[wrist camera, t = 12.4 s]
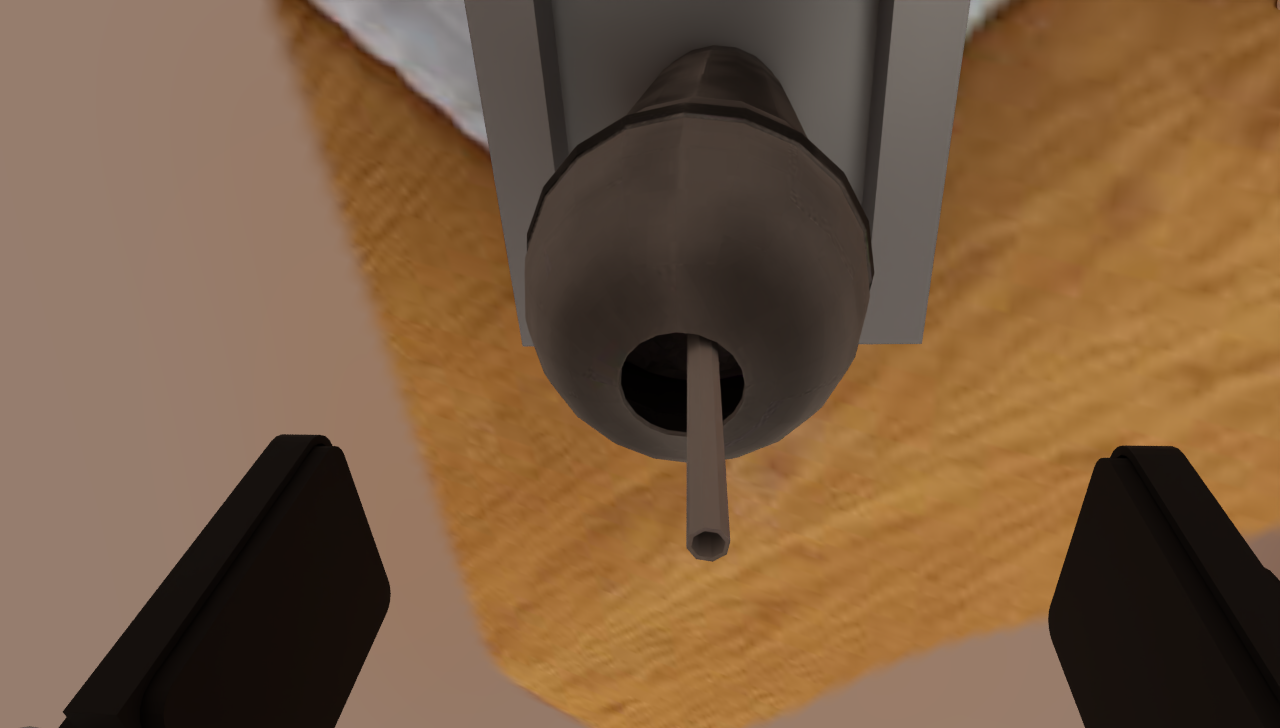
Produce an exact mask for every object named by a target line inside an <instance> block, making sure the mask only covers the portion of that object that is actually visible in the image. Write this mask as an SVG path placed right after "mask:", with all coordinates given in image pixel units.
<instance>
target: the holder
mask: <svg viewBox="0 0 1280 728" xmlns="http://www.w3.org/2000/svg"><path fill="white" fill-rule="evenodd" d="M464 2H465V8H466V14H467V20H468V26H469V32H470V38H471V43H472V49H473V55H474V61H475V67H476V73H477V79H478V85H479V91H480V97H481V103H482V109H483V114H484V120H485V126H486V132H487V138H488V144H489V150H490V156H491V162H492V168H493V174H494V179H495V185H496V191H497V197H498V203H499V209H500V215H501V221H502V227H503V233H504V239H505V245H506V250H507V256H508V262H509V268H510V274H511V280H512V286H513V292H514V298H515V304H516V310H517V316H518V321H519V327H520V333H521V339H522V345H523V346H534V344H533V341H532V339H531V336H530V333H529V330H528V326H527V323H526V319H525V273H524V272H525V256H526V254H527V232H528V229H529V226H530V223H531V220H532V217H533V215H534V212H535V209H536V206H537V203H538V200H539V197H540V194H541V191H542V188H543V186H544V185H545V184H546V182H547V181H548V180H549V179H550V178H551V176H552V175H553V174H554V173H555V171H556V170H557V169H558V168H559V166H560V165H561V164H562V163H563V162H564V160H565V159H566V158H567V157H568V155H569V154H570V153H571V152H572V150H573V149H574V148H575V147H576V146H577V145H578V144H579V143H581V142H583V141H584V140H586V139H588V138H589V137H591V136H593V135H594V134H596V133H597V132H599V131H601V130H602V129H604V128H606V127H607V126H609V125H611V124H612V123H614V122H616V121H617V120H619V119H620V118H622V117H624V116H625V115H627V113H628V112H629V111H630V110H631V108H632V107H633V106H634V105H635V103H636V102H637V101H638V100H639V99H640V97H641V96H642V95H643V94H644V92H645V91H646V90H647V89H648V88H649V86H650V85H651V84H652V83H653V82H654V80H655V79H656V78H657V77H658V76H659V74H660V73H661V72H662V71H663V70H664V69H665V68H667V67H668V66H670V64H671V63H672V62H674V61H675V60H677V59H678V58H680V57H682V56H683V55H685V54H686V53H688V52H690V51H691V50H695V49H700V48H704V47H708V46H712V45H717V46H728V47H736V48H739V49H741V50H743V51H745V52H747V53H750V54H752V55H754V56H756V57H757V58H758V59H759V60H760V61H762V62H763V63H764V64H765V65H766V66H767V67H768V68H769V69H770V70H771V71H772V72H773V74H774V76H775V77H776V78H777V79H778V80H779V81H780V83H781V85H782V87H783V89H784V91H785V93H786V95H787V97H788V99H789V101H790V102H791V105H792V107H793V109H794V111H795V113H796V115H797V117H798V119H799V121H800V123H801V125H802V127H803V129H804V132H805V134H806V136H807V138H808V139H809V140H810V141H811V142H812V143H813V144H814V145H815V146H817V147H818V148H819V149H820V150H821V151H822V152H823V153H824V154H825V155H826V156H827V157H828V158H829V159H830V160H832V161H833V162H834V163H835V164H836V165H837V166H838V167H839V168H840V169H841V170H842V171H843V172H844V173H845V175H846V177H847V179H848V181H849V183H850V185H851V187H852V189H853V191H854V193H855V195H856V197H857V198H858V200H859V202H860V204H861V206H862V208H863V210H864V212H865V214H866V216H867V218H868V220H869V226H870V235H871V244H872V253H873V263H874V272H875V273H874V277H873V281H872V284H871V288H870V299H869V303H868V308H867V312H866V316H865V320H864V324H863V328H862V332H861V335H860V339H859V343H858V344H922V339H923V332H924V325H925V317H926V310H927V303H928V296H929V289H930V282H931V275H932V268H933V261H934V254H935V247H936V240H937V233H938V226H939V218H940V211H941V204H942V197H943V190H944V183H945V176H946V169H947V162H948V155H949V148H950V141H951V134H952V127H953V119H954V112H955V105H956V98H957V91H958V84H959V77H960V70H961V63H962V56H963V49H964V42H965V35H966V28H967V20H968V13H969V6H970V0H464Z"/></svg>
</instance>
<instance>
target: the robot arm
mask: <svg viewBox="0 0 1280 728" xmlns="http://www.w3.org/2000/svg"><path fill="white" fill-rule="evenodd" d="M390 594H391V593H390V585H389V581H388V578H387V575H386V572H385V570H384V567H383V564H382V561H381V558H380V556H379V553H378V550H377V547H376V544H375V541H374V538H373V536H372V533H371V530H370V527H369V524H368V521H367V518H366V515H365V513H364V510H363V507H362V504H361V501H360V498H359V495H358V493H357V490H356V487H355V484H354V481H353V478H352V476H351V473H350V470H349V467H348V464H347V461H346V459H345V455H344V453H343V451H342V450H341V449H340V448H339V447H336V446H332V444H331V442H330V440H329V439H328V438H327V437H326V436H322V435H286V434H284V435H279V436H276V437H275V438H274V439H273V440H272V441H271V442H270V444H269V445H268V446H267V448H266V449H265V450H264V451H263V453H262V454H261V455H260V457H259V458H258V459H257V460H256V462H255V463H254V464H253V466H252V467H251V468H250V469H249V471H248V472H247V474H246V475H245V476H244V477H243V479H242V480H241V481H240V483H239V484H238V485H237V486H236V488H235V489H234V490H233V492H232V493H231V494H230V495H229V497H228V498H227V499H226V501H225V502H224V503H223V505H222V506H221V507H220V508H219V510H218V511H217V512H216V514H215V515H214V516H213V517H212V519H211V520H210V521H209V523H208V524H207V525H206V527H205V528H204V529H203V530H202V532H201V533H200V534H199V536H198V537H197V538H196V540H195V541H194V542H193V543H192V545H191V546H190V547H189V549H188V550H187V551H186V553H185V554H184V555H183V557H182V558H181V559H180V560H179V562H178V563H177V564H176V565H175V567H174V568H173V569H172V571H171V572H170V573H169V575H168V576H167V577H166V579H165V580H164V581H163V582H162V584H161V585H160V586H159V588H158V589H157V590H156V592H155V593H154V594H153V595H152V597H151V598H150V599H149V601H148V602H147V603H146V605H145V606H144V607H143V608H142V610H141V611H140V612H139V613H138V615H137V616H136V617H135V619H134V620H133V621H132V623H131V624H130V625H129V626H128V628H127V629H126V630H125V632H124V633H123V634H122V636H121V637H120V638H119V639H118V641H117V642H116V643H115V645H114V646H113V647H112V649H111V650H110V651H109V653H108V654H107V655H106V656H105V658H104V659H103V660H102V661H101V663H100V664H99V666H98V667H97V668H96V669H95V671H94V672H93V673H92V674H91V676H90V677H89V678H88V680H87V681H86V682H85V684H84V685H83V686H82V687H81V689H80V690H79V691H78V693H77V694H76V695H75V697H74V698H73V699H72V700H71V702H70V703H69V704H68V706H67V707H66V708H65V710H64V711H63V713H64V714H65V715H66V719H65V720H64V721H63V723H62V724H61V725H60V727H59V728H335V725H336V723H337V721H338V719H339V717H340V715H341V712H342V710H343V708H344V705H345V704H346V701H347V699H348V697H349V695H350V693H351V690H352V688H353V686H354V684H355V681H356V679H357V677H358V675H359V673H360V671H361V668H362V666H363V664H364V662H365V659H366V657H367V655H368V653H369V651H370V648H371V646H372V644H373V642H374V639H375V637H376V635H377V633H378V631H379V629H380V626H381V624H382V622H383V620H384V618H385V615H386V613H387V610H388V608H389V603H390ZM1048 622H1049V631H1050V636H1051V639H1052V642H1053V645H1054V647H1055V650H1056V653H1057V655H1058V658H1059V661H1060V663H1061V666H1062V668H1063V671H1064V674H1065V676H1066V679H1067V682H1068V684H1069V687H1070V689H1071V692H1072V694H1073V697H1074V700H1075V703H1076V705H1077V708H1078V710H1079V713H1080V715H1081V718H1082V721H1083V723H1084V726H1085V728H1280V581H1279V580H1278V578H1277V577H1276V576H1275V575H1274V574H1273V573H1272V572H1271V571H1270V570H1268V569H1266V568H1264V567H1263V565H1262V564H1261V563H1260V561H1259V560H1258V558H1257V557H1256V555H1255V554H1254V553H1253V551H1252V550H1251V548H1250V547H1249V545H1248V544H1247V543H1246V541H1245V540H1244V538H1243V537H1242V536H1241V534H1240V533H1239V531H1238V530H1237V528H1236V527H1235V526H1234V524H1233V523H1232V521H1231V520H1230V519H1229V517H1228V516H1227V514H1226V513H1225V512H1224V510H1223V509H1222V507H1221V506H1220V504H1219V503H1218V502H1217V500H1216V499H1215V497H1214V496H1213V495H1212V493H1211V492H1210V490H1209V489H1208V488H1207V486H1206V485H1205V483H1204V482H1203V480H1202V479H1201V478H1200V476H1199V475H1198V473H1197V472H1196V471H1195V469H1194V468H1193V466H1192V465H1191V464H1190V462H1189V461H1188V459H1187V458H1186V456H1185V455H1184V454H1183V453H1182V452H1181V451H1180V450H1179V449H1178V448H1175V447H1173V446H1119V447H1117V448H1116V449H1115V450H1114V451H1113V453H1112V455H1111V457H1110V458H1100V459H1099V460H1098V461H1097V463H1096V465H1095V467H1094V470H1093V473H1092V476H1091V479H1090V483H1089V486H1088V489H1087V492H1086V495H1085V498H1084V501H1083V505H1082V508H1081V511H1080V514H1079V517H1078V520H1077V523H1076V527H1075V530H1074V533H1073V536H1072V539H1071V542H1070V545H1069V549H1068V552H1067V555H1066V558H1065V561H1064V564H1063V567H1062V571H1061V574H1060V577H1059V580H1058V583H1057V586H1056V590H1055V593H1054V596H1053V599H1052V602H1051V605H1050V609H1049V617H1048ZM23 728H37V727H30V726H29V727H23Z"/></svg>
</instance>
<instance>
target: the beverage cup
mask: <svg viewBox="0 0 1280 728" xmlns="http://www.w3.org/2000/svg"><path fill="white" fill-rule="evenodd" d="M524 273H525V319H526V323H527V326H528V330H529V333H530V336H531V339H532V341H533V344H534V347H535V349H536V352H537V355H538V357H539V360H540V363H541V365H542V368H543V371H544V373H545V375H546V376H547V378H548V379H549V381H550V382H551V384H552V385H553V386H554V388H555V389H556V390H557V391H558V393H559V394H560V395H561V396H562V398H563V399H564V400H565V401H566V403H567V404H568V405H569V407H570V408H571V409H572V410H573V412H574V413H575V414H576V415H577V417H579V418H580V419H582V420H583V421H584V422H586V423H587V424H589V425H590V426H591V427H593V428H594V429H596V430H597V431H598V432H600V433H601V434H603V435H604V436H605V437H607V438H608V439H610V440H611V441H612V442H614V443H616V444H618V445H621V446H623V447H626V448H628V449H631V450H634V451H636V452H639V453H641V454H644V455H647V456H649V457H652V458H655V459H663V460H671V461H679V462H687V549H688V550H689V551H690V553H691V554H692V555H693V556H694V557H695V558H696V559H700V560H707V561H715V560H716V559H718V558H720V557H722V556H724V555H726V554H727V551H728V548H729V544H730V531H729V515H728V499H727V483H726V468H725V459H733V458H737V457H740V456H742V455H745V454H748V453H750V452H753V451H755V450H758V449H760V448H763V447H765V446H768V445H771V444H773V443H776V442H778V441H780V440H781V439H782V438H784V437H785V436H786V435H788V434H789V433H790V432H791V431H793V430H794V429H795V428H797V427H798V426H799V425H801V424H802V423H803V422H804V421H806V420H807V419H808V418H810V417H811V416H812V415H813V414H815V413H816V412H817V411H818V410H819V409H820V408H821V407H822V406H823V405H824V404H825V402H826V401H827V399H828V398H829V396H830V395H831V393H832V392H833V390H834V389H835V387H836V386H837V384H838V383H839V382H840V380H841V379H842V377H843V376H844V374H845V373H846V371H847V370H848V368H849V366H850V365H851V363H852V361H853V359H854V358H855V355H856V351H857V347H858V343H859V339H860V335H861V332H862V328H863V324H864V320H865V316H866V312H867V308H868V303H869V299H870V288H871V284H872V281H873V277H874V273H875V272H874V263H873V253H872V244H871V235H870V226H869V220H868V218H867V216H866V214H865V212H864V210H863V208H862V206H861V204H860V202H859V200H858V198H857V197H856V195H855V193H854V191H853V189H852V187H851V185H850V183H849V181H848V179H847V177H846V175H845V173H844V172H843V171H842V170H841V169H840V168H839V167H838V166H837V165H836V164H835V163H834V162H833V161H832V160H830V159H829V158H828V157H827V156H826V155H825V154H824V153H823V152H822V151H821V150H820V149H819V148H818V147H817V146H815V145H814V144H813V143H812V142H811V141H810V140H809V139H808V138H807V136H806V134H805V132H804V129H803V127H802V125H801V123H800V121H799V119H798V117H797V115H796V113H795V111H794V109H793V107H792V105H791V102H790V101H789V99H788V97H787V95H786V93H785V91H784V89H783V87H782V85H781V83H780V81H779V80H778V79H777V78H776V77H775V76H774V74H773V72H772V71H771V70H770V69H769V68H768V67H767V66H766V65H765V64H764V63H763V62H762V61H760V60H759V59H758V58H757V57H756V56H754V55H752V54H750V53H747V52H745V51H743V50H741V49H739V48H736V47H728V46H717V45H712V46H708V47H704V48H700V49H695V50H691V51H690V52H688V53H686V54H685V55H683V56H682V57H680V58H678V59H677V60H675V61H674V62H672V63H671V64H670V66H668V67H667V68H665V69H664V70H663V71H662V72H661V73H660V74H659V76H658V77H657V78H656V79H655V80H654V82H653V83H652V84H651V85H650V86H649V88H648V89H647V90H646V91H645V92H644V94H643V95H642V96H641V97H640V99H639V100H638V101H637V102H636V103H635V105H634V106H633V107H632V108H631V110H630V111H629V112H628V113H627V115H625V116H624V117H622V118H620V119H619V120H617V121H616V122H614V123H612V124H611V125H609V126H607V127H606V128H604V129H602V130H601V131H599V132H597V133H596V134H594V135H593V136H591V137H589V138H588V139H586V140H584V141H583V142H581V143H579V144H578V145H577V146H576V147H575V148H574V149H573V150H572V152H571V153H570V154H569V155H568V157H567V158H566V159H565V160H564V162H563V163H562V164H561V165H560V166H559V168H558V169H557V170H556V171H555V173H554V174H553V175H552V176H551V178H550V179H549V180H548V181H547V182H546V184H545V185H544V186H543V188H542V191H541V194H540V197H539V200H538V203H537V206H536V209H535V212H534V215H533V217H532V220H531V223H530V226H529V229H528V232H527V254H526V256H525V272H524Z"/></svg>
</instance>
